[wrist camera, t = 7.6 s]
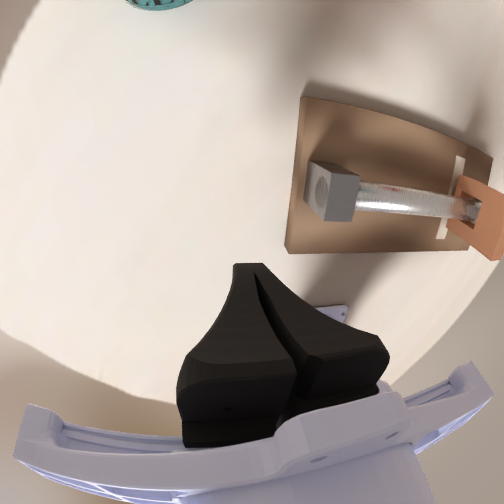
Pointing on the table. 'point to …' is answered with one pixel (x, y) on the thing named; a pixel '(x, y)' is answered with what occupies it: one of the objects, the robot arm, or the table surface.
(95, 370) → the table surface
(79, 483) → the robot arm
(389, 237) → the board
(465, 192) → the collar
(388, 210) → the pipe stand
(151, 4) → the beverage bottle
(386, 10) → the table surface
